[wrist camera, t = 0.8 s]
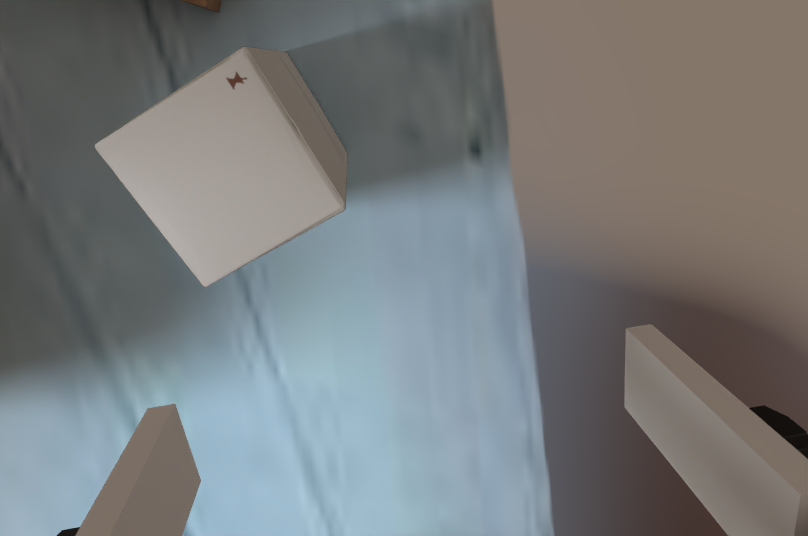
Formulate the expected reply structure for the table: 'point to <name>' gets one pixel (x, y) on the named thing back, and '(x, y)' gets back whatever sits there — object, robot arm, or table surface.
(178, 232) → the supplement box
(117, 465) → the robot arm
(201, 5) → the caddy
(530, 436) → the table surface
